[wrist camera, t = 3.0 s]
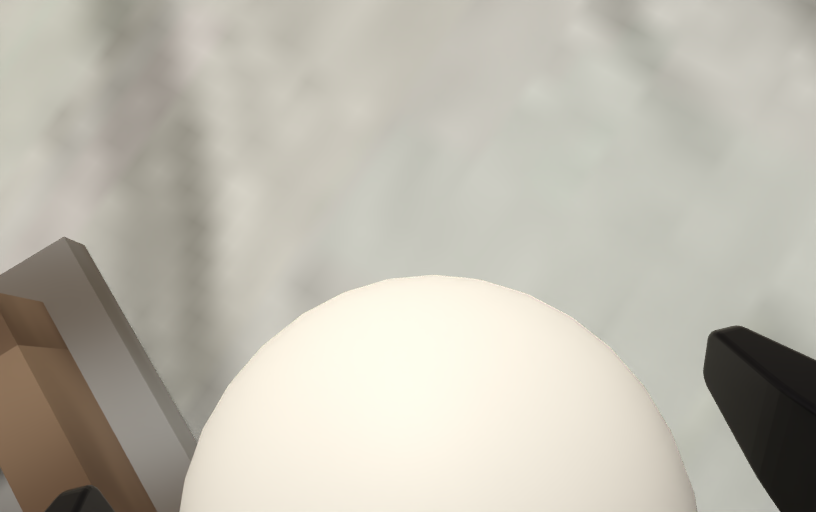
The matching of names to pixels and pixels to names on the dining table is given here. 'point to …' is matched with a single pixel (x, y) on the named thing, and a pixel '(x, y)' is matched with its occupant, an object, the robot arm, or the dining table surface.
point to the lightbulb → (436, 413)
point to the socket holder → (81, 393)
